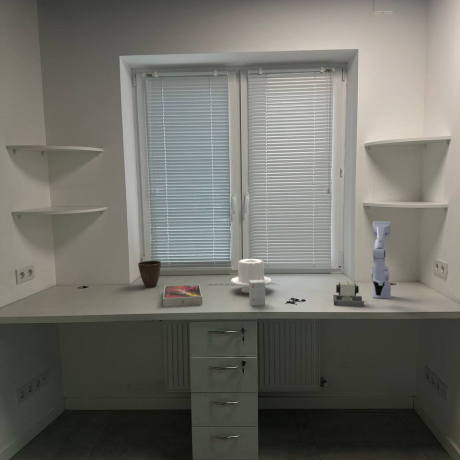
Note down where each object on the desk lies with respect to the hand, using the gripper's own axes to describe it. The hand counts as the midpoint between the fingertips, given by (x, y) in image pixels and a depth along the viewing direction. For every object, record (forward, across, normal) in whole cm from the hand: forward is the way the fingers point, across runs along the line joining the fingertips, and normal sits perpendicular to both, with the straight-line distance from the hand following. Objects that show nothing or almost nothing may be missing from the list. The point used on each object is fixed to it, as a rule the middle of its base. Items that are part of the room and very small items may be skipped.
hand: (378, 295), depth 210 cm
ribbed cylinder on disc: (+5, -16, -73) cm, 75 cm away
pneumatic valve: (+5, 0, -16) cm, 17 cm away
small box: (+5, +11, -65) cm, 66 cm away
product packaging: (+6, +8, -110) cm, 110 cm away
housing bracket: (+5, 0, -15) cm, 16 cm away
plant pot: (+5, -15, -141) cm, 142 cm away
